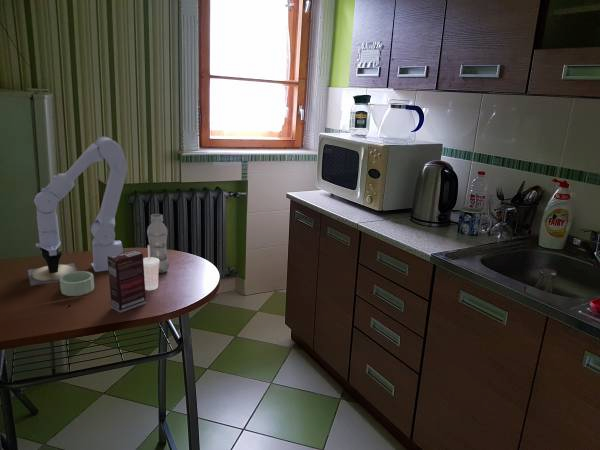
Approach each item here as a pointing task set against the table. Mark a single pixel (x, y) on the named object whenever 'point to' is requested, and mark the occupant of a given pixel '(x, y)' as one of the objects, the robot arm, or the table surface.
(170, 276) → the table surface
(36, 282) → the mat
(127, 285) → the supplement box
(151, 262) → the beverage cup
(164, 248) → the plastic bottle
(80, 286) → the bowl
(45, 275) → the board
